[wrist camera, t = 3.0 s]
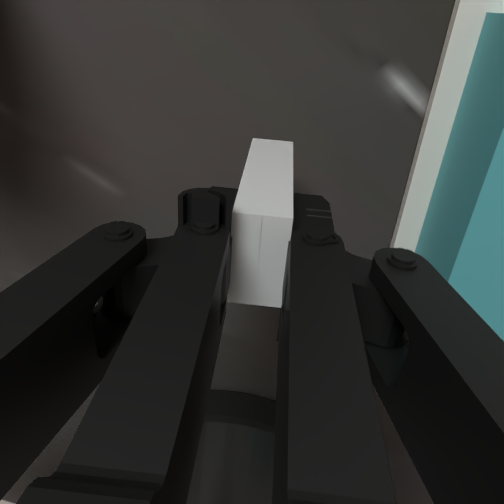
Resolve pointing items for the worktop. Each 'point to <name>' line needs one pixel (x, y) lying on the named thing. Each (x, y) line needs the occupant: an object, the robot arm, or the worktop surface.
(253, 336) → the worktop surface
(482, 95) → the t block
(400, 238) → the board
